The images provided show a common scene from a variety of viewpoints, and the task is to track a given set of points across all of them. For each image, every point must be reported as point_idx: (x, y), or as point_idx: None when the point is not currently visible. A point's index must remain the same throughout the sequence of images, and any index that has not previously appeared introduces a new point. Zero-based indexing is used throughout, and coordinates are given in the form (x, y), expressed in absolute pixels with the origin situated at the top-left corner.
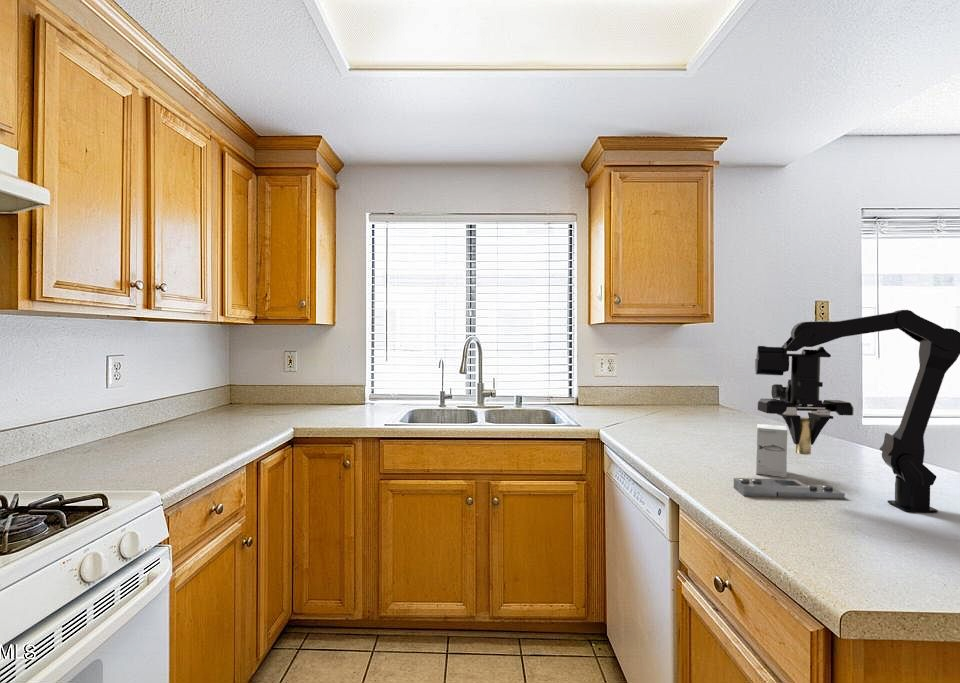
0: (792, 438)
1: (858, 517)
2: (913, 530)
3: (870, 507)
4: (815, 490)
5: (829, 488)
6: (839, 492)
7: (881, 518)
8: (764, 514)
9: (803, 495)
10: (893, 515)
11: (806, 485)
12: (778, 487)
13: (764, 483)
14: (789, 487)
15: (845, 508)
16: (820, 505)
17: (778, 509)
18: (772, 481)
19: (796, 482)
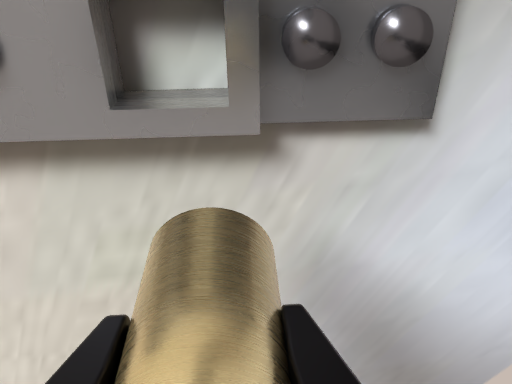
0: (70, 366)
1: (318, 312)
2: (401, 378)
3: (444, 212)
4: (311, 74)
5: (397, 64)
6: (420, 99)
7: (387, 311)
8: (11, 321)
9: None
10: (453, 283)
11: (286, 28)
12: (88, 138)
13: (14, 76)
14: (148, 136)
15: (334, 234)
16: (253, 211)
17: (69, 273)
18: (72, 17)
19: (226, 26)
